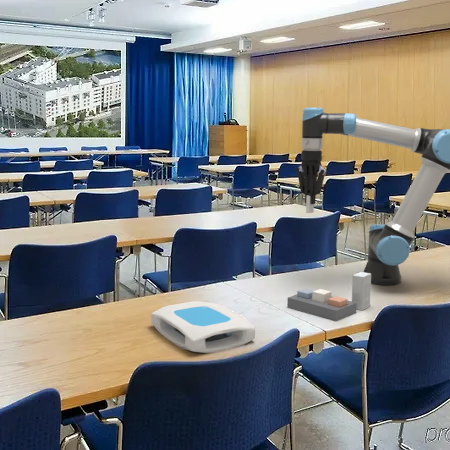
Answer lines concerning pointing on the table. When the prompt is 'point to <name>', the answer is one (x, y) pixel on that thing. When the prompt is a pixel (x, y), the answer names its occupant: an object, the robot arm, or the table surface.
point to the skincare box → (361, 290)
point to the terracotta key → (337, 301)
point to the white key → (321, 295)
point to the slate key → (305, 293)
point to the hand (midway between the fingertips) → (309, 212)
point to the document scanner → (202, 326)
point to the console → (321, 308)
